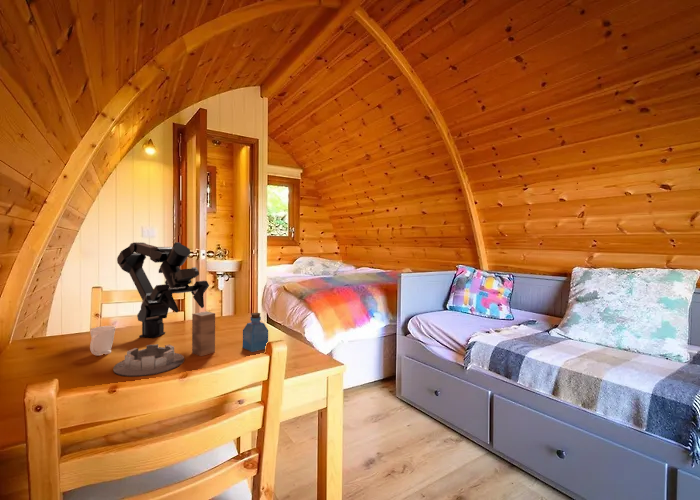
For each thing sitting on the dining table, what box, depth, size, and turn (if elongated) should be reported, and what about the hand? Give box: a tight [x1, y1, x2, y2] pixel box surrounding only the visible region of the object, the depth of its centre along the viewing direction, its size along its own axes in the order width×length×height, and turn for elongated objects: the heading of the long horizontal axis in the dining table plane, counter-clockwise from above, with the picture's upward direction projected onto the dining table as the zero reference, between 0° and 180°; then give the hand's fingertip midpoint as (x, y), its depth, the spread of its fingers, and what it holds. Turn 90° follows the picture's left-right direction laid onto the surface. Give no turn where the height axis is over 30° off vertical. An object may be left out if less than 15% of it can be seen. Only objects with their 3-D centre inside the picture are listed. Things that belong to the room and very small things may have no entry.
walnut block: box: [191, 310, 216, 357], centre depth 110 cm, size 5×5×13 cm
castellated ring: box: [113, 343, 185, 378], centre depth 99 cm, size 18×18×4 cm
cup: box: [89, 325, 116, 357], centre depth 107 cm, size 7×10×8 cm
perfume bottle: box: [242, 312, 269, 353], centre depth 116 cm, size 6×6×12 cm
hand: (190, 309), depth 115 cm, fingers open, 9 cm apart
